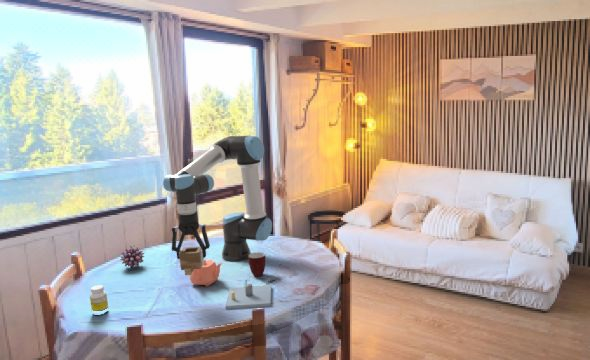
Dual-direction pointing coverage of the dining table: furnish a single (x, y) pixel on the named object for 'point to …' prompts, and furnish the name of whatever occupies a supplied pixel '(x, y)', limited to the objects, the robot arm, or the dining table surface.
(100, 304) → the pill bottle
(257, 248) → the dining table surface
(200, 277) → the teapot
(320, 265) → the dining table surface
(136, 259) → the spiky ball
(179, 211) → the robot arm
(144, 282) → the dining table surface
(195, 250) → the tan hollow block
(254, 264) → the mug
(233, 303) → the post plate
